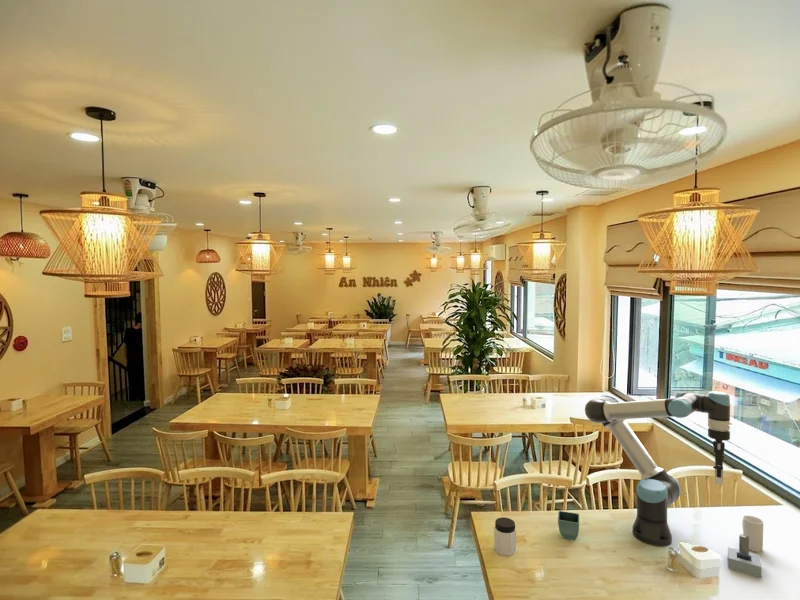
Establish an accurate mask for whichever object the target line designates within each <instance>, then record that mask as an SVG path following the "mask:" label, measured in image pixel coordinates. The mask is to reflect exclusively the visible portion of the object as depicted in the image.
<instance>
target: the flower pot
mask: <svg viewBox="0 0 800 600" xmlns="http://www.w3.org/2000/svg"><path fill="white" fill-rule="evenodd" d="M557 514H558V516H557V525H558V531H559V534H560V537H562V539H565V538H566V539H565V540H571V541H576V540H577V539H578V537H579V533H580V532H579V531H580V514H579V513H575V512H569V511H568V512H567V511H564V510H558V513H557Z"/></svg>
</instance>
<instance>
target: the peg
mask: <svg viewBox="0 0 800 600" xmlns="http://www.w3.org/2000/svg"><path fill="white" fill-rule="evenodd" d="M738 538H739V539H738V540H739V541H738V544H739V546H738V547H739V548H738V550H739V558H740V559H744V560H748V561H749V553H750V550H749V537H748V536H746V535H743V533H742V534H739V536H738Z"/></svg>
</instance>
